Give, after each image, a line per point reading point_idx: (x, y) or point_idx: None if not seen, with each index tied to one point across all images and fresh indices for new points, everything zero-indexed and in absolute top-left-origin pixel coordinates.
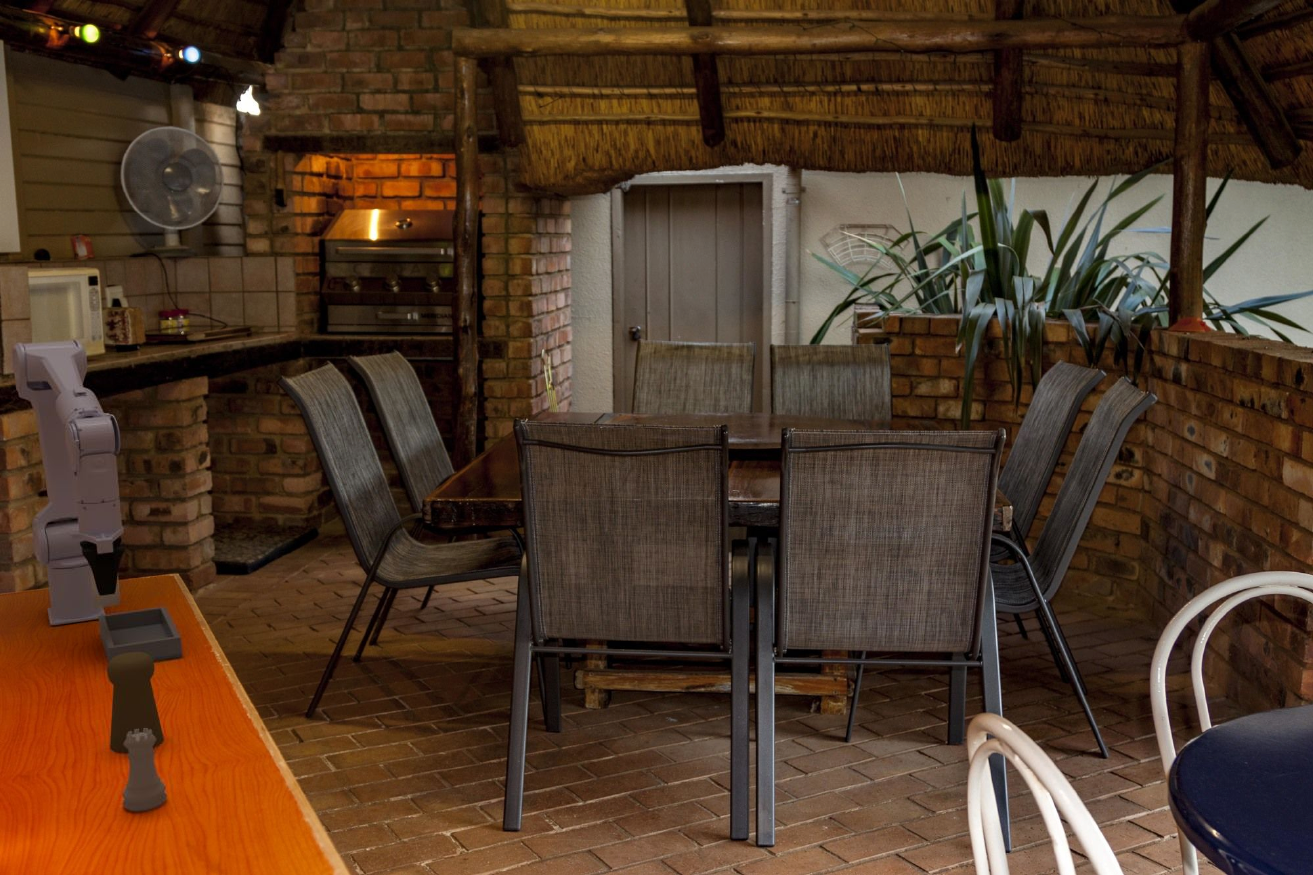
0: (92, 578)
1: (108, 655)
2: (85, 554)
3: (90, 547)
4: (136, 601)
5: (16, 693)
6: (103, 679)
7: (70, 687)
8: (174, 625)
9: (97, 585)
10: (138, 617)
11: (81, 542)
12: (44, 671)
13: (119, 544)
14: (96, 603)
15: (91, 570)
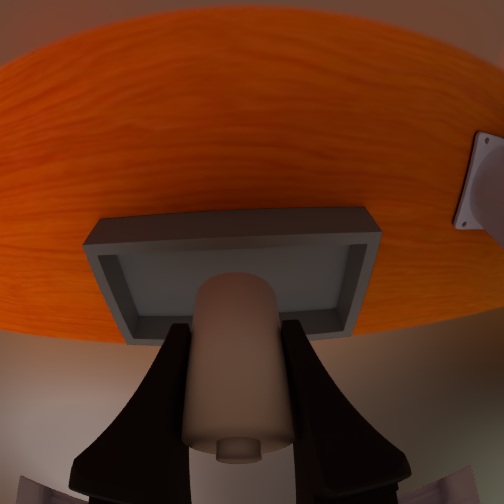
0: (211, 362)
1: (107, 230)
2: (70, 475)
3: (314, 481)
4: (487, 269)
5: (19, 65)
6: (49, 209)
7: (23, 158)
8: None
9: (158, 354)
10: (348, 291)
11: (382, 484)
12: (128, 86)
13: (296, 494)
14: (208, 287)
15: (214, 395)
